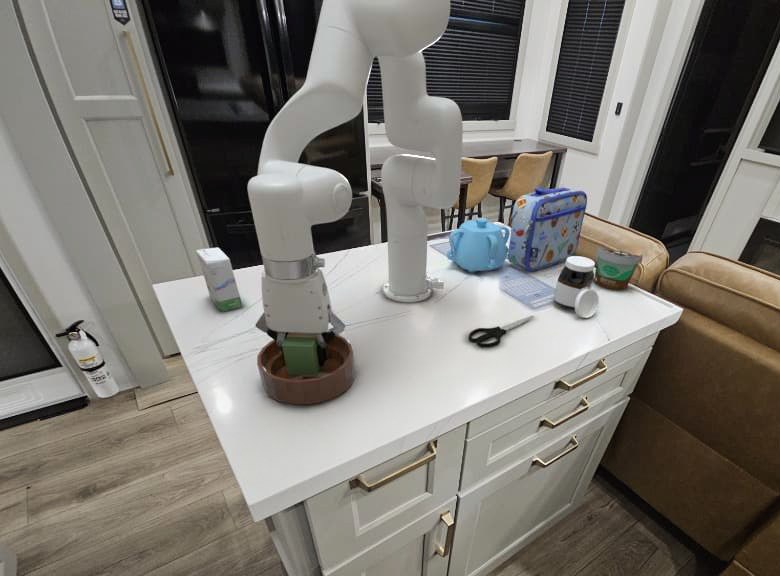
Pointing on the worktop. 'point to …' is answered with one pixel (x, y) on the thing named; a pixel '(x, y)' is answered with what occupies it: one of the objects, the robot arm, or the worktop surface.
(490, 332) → the scissors
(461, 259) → the decorative pot
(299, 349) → the package
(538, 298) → the worktop surface
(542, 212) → the lunch box
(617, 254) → the food container
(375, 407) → the worktop surface
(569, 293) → the spread jar
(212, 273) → the ink box
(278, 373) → the bowl
